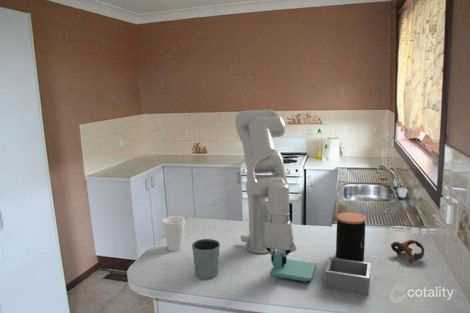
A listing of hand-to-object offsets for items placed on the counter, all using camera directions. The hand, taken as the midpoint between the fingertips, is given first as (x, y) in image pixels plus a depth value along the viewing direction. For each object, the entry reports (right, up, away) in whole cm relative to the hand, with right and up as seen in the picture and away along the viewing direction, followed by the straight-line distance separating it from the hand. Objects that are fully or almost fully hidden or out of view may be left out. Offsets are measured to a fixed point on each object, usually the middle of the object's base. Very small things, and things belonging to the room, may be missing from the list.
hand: (278, 264), depth 139 cm
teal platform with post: (+5, -3, -2) cm, 6 cm away
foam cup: (-42, -1, +26) cm, 49 cm away
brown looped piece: (+52, -1, +12) cm, 54 cm away
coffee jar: (+29, -2, +11) cm, 31 cm away
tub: (+23, -5, -8) cm, 25 cm away
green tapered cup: (-26, -5, +3) cm, 27 cm away
